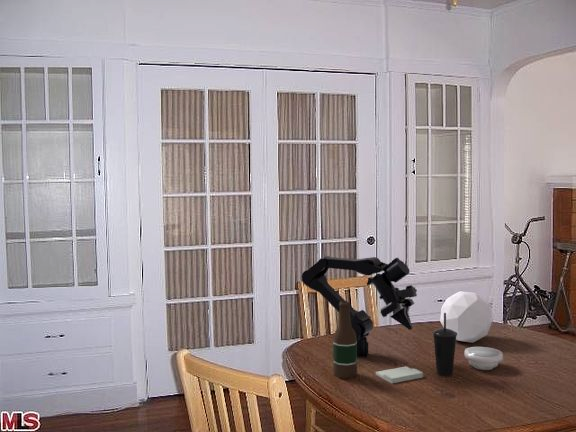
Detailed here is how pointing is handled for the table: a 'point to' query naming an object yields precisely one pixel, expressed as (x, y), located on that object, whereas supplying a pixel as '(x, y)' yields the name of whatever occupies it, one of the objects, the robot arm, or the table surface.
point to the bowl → (483, 357)
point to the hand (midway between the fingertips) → (411, 329)
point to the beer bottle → (344, 345)
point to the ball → (467, 316)
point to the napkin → (400, 374)
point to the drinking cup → (444, 349)
